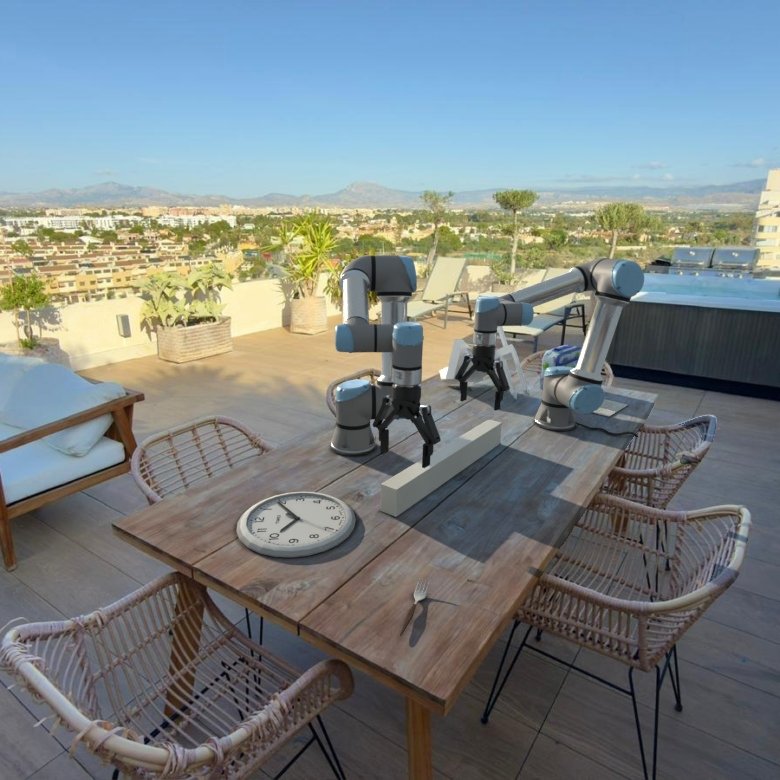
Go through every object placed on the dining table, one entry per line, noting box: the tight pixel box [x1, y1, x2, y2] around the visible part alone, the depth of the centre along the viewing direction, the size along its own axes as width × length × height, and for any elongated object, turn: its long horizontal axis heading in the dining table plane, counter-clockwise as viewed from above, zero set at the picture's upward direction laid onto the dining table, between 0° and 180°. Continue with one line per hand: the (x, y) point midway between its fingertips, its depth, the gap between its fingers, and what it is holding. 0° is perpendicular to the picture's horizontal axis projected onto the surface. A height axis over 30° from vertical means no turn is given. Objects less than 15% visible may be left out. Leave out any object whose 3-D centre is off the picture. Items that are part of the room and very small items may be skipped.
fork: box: [399, 577, 431, 637], centre depth 104 cm, size 3×16×2 cm, turn 160°
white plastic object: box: [438, 326, 531, 400], centre depth 245 cm, size 37×45×31 cm
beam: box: [380, 418, 503, 518], centre depth 162 cm, size 63×5×8 cm, turn 143°
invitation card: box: [591, 398, 629, 418], centre depth 226 cm, size 21×1×15 cm
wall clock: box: [236, 491, 357, 558], centre depth 134 cm, size 30×2×30 cm
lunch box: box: [539, 344, 583, 391], centre depth 246 cm, size 26×11×21 cm, turn 135°
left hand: (404, 459), depth 140 cm, fingers open, 13 cm apart
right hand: (479, 404), depth 179 cm, fingers open, 13 cm apart
